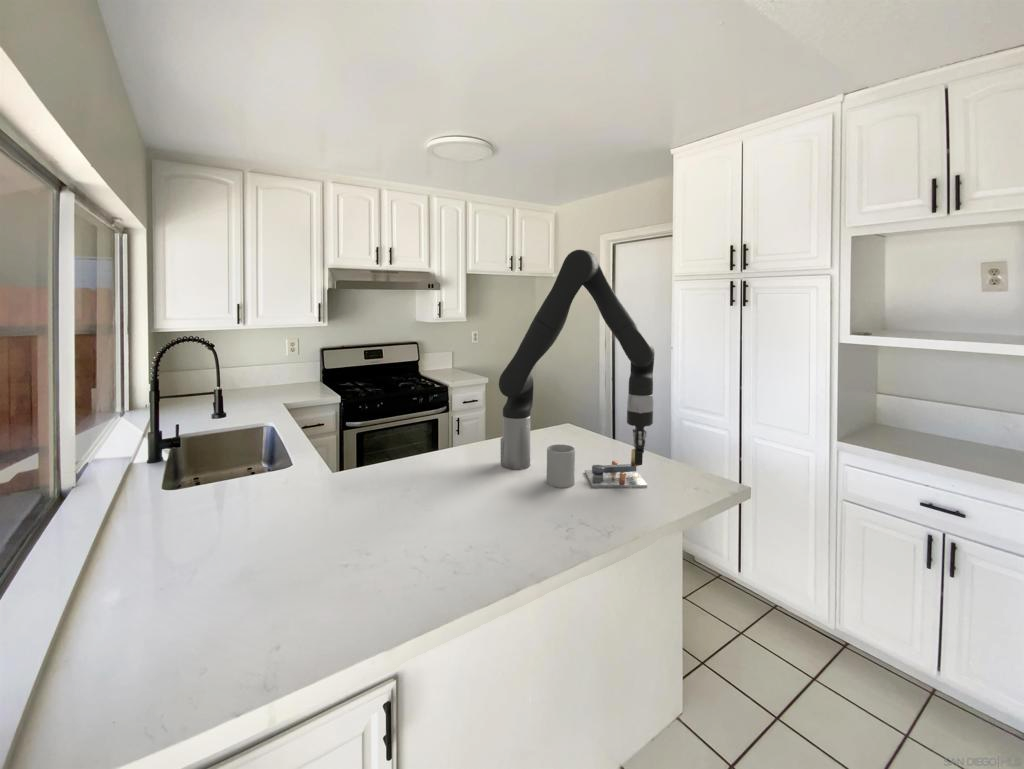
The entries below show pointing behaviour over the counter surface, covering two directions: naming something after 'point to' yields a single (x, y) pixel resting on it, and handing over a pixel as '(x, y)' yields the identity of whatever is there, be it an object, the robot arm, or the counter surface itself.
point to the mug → (560, 466)
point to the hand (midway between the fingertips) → (638, 464)
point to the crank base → (615, 479)
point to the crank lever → (616, 467)
